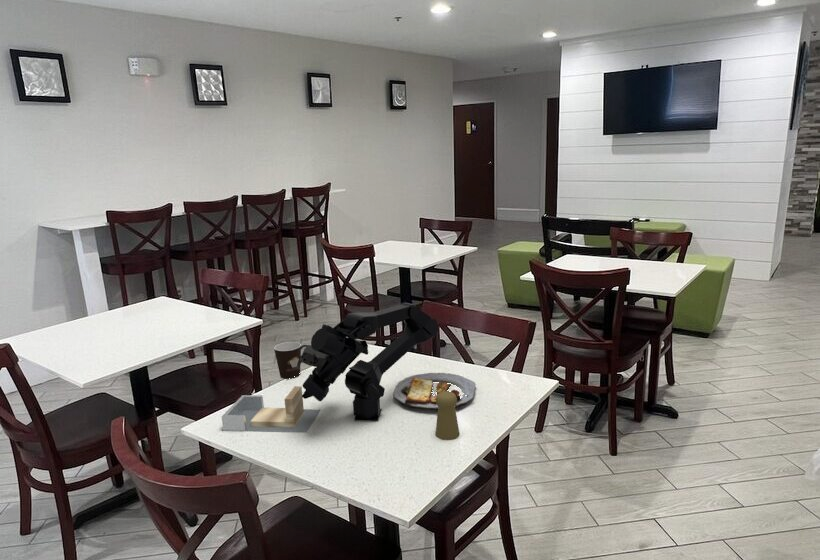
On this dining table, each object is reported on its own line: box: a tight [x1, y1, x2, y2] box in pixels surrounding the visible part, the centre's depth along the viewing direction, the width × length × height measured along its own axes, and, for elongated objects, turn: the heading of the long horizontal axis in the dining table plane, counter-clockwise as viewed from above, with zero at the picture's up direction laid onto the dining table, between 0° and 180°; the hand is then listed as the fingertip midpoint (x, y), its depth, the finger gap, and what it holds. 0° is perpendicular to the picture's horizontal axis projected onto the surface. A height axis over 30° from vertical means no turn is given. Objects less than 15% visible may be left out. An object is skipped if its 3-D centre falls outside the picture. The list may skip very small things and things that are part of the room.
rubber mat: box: [221, 408, 321, 434], centre depth 149 cm, size 23×13×1 cm, turn 83°
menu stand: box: [250, 385, 305, 427], centre depth 148 cm, size 12×8×8 cm, turn 83°
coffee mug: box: [273, 341, 308, 380], centre depth 180 cm, size 12×9×10 cm
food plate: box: [392, 372, 476, 410], centre depth 161 cm, size 25×23×4 cm
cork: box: [434, 391, 460, 441], centre depth 137 cm, size 6×6×11 cm
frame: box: [221, 394, 265, 432], centre depth 150 cm, size 6×13×4 cm, turn 173°
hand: (303, 397), depth 146 cm, fingers closed
